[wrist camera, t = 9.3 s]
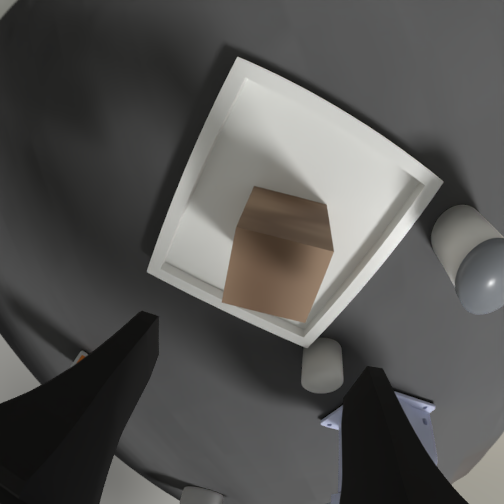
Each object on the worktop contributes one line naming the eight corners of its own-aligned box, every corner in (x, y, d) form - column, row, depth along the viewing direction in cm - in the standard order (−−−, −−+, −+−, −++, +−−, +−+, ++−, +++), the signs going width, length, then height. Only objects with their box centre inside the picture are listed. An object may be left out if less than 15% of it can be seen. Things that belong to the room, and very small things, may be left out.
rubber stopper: (349, 346, 23) (352, 377, 20) (326, 367, 24) (326, 397, 22) (317, 332, 22) (317, 363, 20) (295, 354, 24) (293, 385, 21)
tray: (434, 174, 15) (443, 181, 14) (307, 334, 22) (307, 348, 21) (242, 58, 14) (237, 56, 13) (154, 260, 21) (146, 271, 20)
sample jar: (494, 225, 16) (535, 269, 12) (457, 272, 18) (486, 324, 14) (456, 190, 15) (499, 230, 11) (416, 243, 18) (444, 296, 13)
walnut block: (326, 204, 17) (334, 251, 12) (306, 265, 19) (305, 322, 15) (254, 185, 17) (236, 226, 13) (240, 248, 19) (221, 302, 15)
